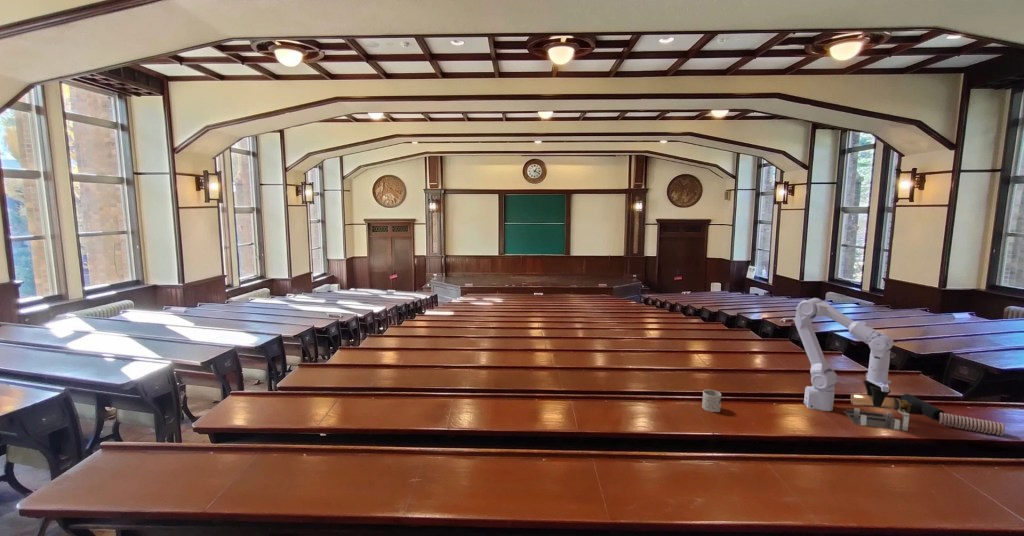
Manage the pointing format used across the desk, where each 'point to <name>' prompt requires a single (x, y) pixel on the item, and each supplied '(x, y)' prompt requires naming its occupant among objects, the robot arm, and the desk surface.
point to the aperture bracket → (904, 420)
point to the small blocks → (888, 418)
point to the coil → (971, 424)
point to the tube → (868, 401)
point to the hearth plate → (872, 419)
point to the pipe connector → (919, 406)
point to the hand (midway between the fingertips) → (874, 403)
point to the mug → (711, 400)
